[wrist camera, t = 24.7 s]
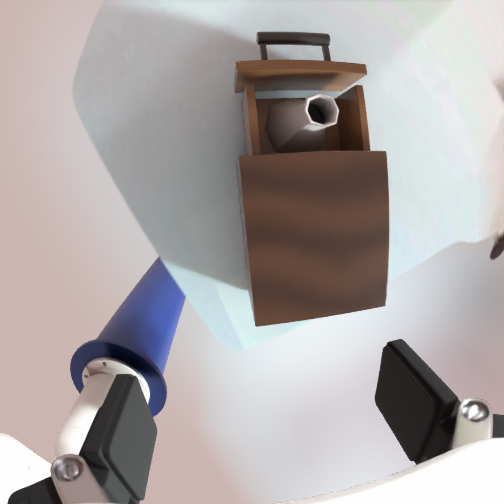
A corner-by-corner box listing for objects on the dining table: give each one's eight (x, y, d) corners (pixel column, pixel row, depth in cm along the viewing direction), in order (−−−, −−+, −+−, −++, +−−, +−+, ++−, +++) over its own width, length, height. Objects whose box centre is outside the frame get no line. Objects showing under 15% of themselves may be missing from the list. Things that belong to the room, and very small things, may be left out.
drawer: (230, 50, 31) (232, 22, 23) (335, 50, 31) (358, 27, 24) (245, 209, 36) (250, 219, 28) (351, 201, 37) (380, 208, 29)
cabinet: (235, 161, 35) (238, 156, 26) (350, 155, 36) (386, 151, 27) (248, 292, 39) (255, 326, 30) (354, 278, 40) (386, 306, 31)
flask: (321, 97, 32) (353, 73, 22) (328, 155, 34) (364, 150, 24) (261, 99, 32) (274, 72, 22) (268, 159, 33) (284, 153, 24)
